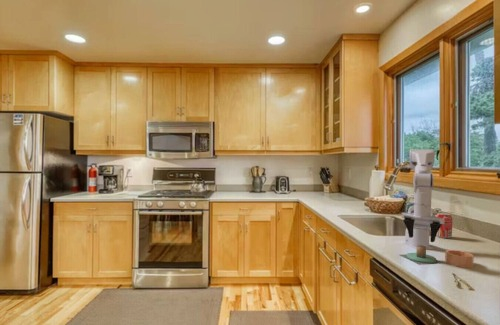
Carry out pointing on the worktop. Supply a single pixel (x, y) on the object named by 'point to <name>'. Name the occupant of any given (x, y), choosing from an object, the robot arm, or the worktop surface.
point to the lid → (421, 255)
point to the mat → (422, 263)
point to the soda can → (445, 226)
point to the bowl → (459, 258)
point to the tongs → (462, 282)
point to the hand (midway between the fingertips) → (421, 239)
